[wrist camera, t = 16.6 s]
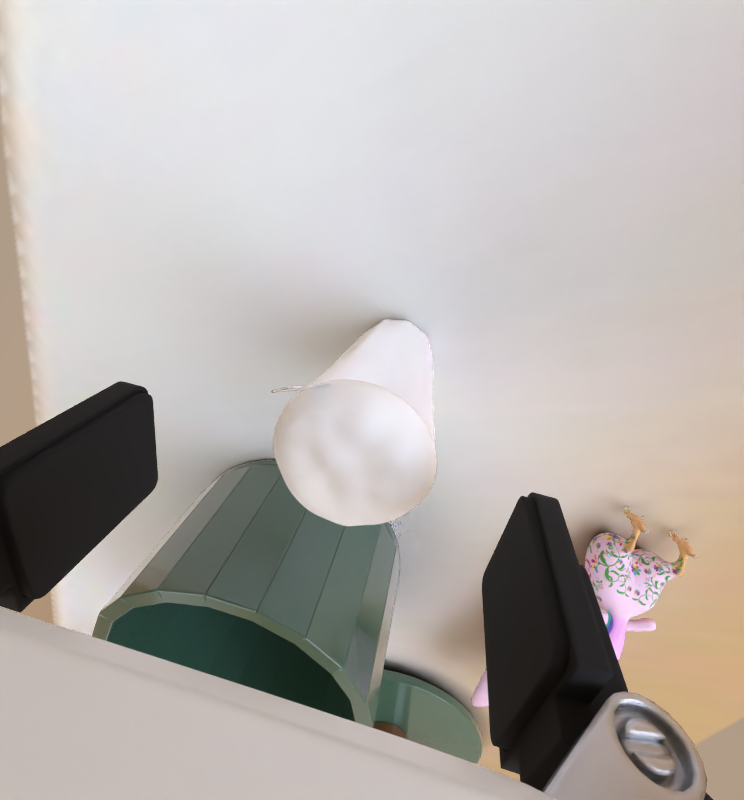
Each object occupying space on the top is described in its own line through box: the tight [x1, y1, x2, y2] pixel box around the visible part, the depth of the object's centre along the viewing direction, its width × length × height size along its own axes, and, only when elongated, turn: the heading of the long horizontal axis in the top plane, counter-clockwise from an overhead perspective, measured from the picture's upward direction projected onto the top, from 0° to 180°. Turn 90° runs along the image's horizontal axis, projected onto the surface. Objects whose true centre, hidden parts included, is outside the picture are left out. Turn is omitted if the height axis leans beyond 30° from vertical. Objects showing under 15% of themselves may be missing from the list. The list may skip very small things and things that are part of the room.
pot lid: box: [373, 669, 482, 764], centre depth 29 cm, size 14×14×7 cm
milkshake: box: [271, 319, 437, 526], centre depth 14 cm, size 4×5×10 cm
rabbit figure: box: [471, 506, 699, 707], centre depth 21 cm, size 6×6×15 cm
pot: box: [92, 459, 400, 728], centre depth 22 cm, size 13×13×8 cm
